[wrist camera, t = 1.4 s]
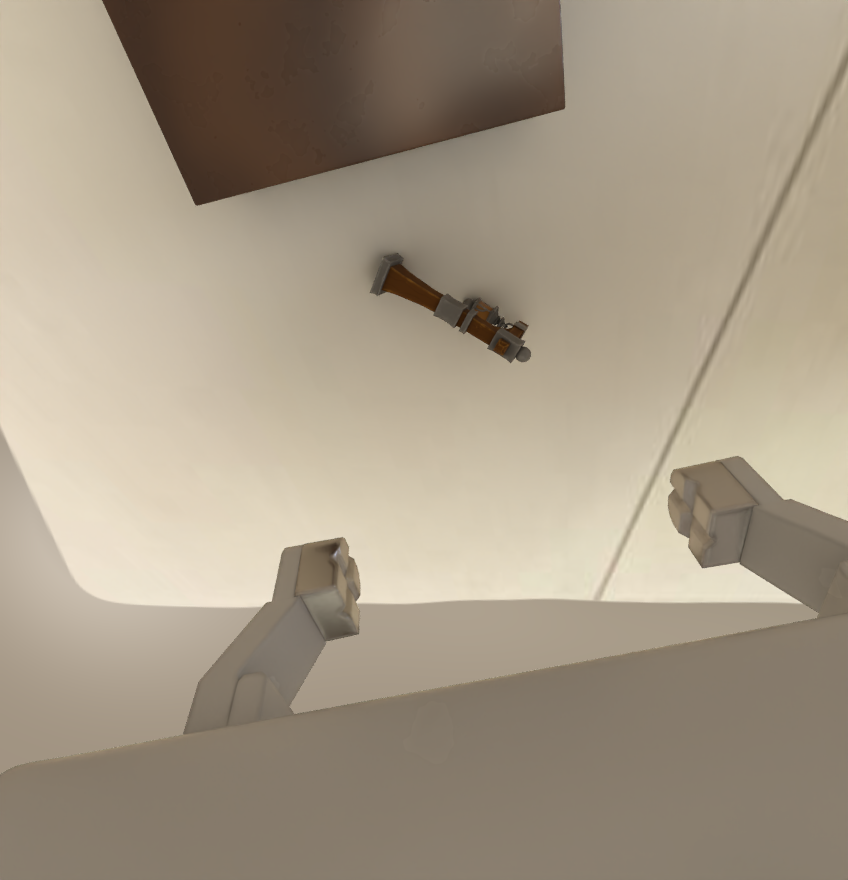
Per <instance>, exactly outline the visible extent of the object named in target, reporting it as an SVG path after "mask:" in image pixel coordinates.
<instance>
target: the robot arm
mask: <svg viewBox="0 0 848 880" xmlns="http://www.w3.org/2000/svg"><path fill="white" fill-rule="evenodd" d="M670 483H671V484H672V486H673V487H674V490H673V491H672V492H671V494H670V495H669V496H668V509H669V514H670V518H671V520H672V522H673V524H674V526H675V528H676V529H677V531H678V532H679V533H680V534H682V535H684V536H686V537H688V538H689V544H688V548H689V549H690V550H691V552H692V553H693V555H694V556H695V558H696V559H697V561H698V562H699V564H700V565H701V567H702V568H707V567H714V566H720V565H726V564H732V563H738V562H740V564H741V565H742V566H744V567H745V568H747V569H749V570H750V571H752V572H753V573H755V574H757V575H758V576H760V577H761V578H763V579H765V580H766V581H768V582H769V583H771V584H773V585H774V586H776V587H777V588H779V589H781V590H782V591H784V592H786V593H787V594H789V595H790V596H792V597H794V598H795V599H797V600H798V601H800V602H802V603H803V604H805V605H806V606H808V607H810V608H811V609H813V610H814V611H816V612H818V613H819V614H818V616H817V618H815V619H810V620H804V621H798V622H793V623H787V624H782V625H777V626H771V627H766V628H760V629H755V630H749V631H745V632H738V633H733V634H728V635H723V636H717V637H711V638H707V639H701V640H695V641H690V642H685V643H679V644H674V645H668V646H663V647H658V648H652V649H647V650H642V651H636V652H630V653H625V654H620V655H615V656H609V657H604V658H598V659H593V660H587V661H582V662H576V663H571V664H565V665H560V666H555V667H549V668H544V669H538V670H533V671H527V672H522V673H516V674H511V675H505V676H500V677H495V678H489V679H484V680H478V681H473V682H467V683H462V684H456V685H451V686H445V687H440V688H435V689H429V690H423V691H418V692H413V693H407V694H402V695H396V696H391V697H385V698H380V699H375V700H369V701H364V702H358V703H353V704H347V705H342V706H336V707H331V708H326V709H321V710H315V711H309V712H305V713H298V714H294V713H293V711H292V710H291V708H290V707H289V706H290V704H291V702H292V701H293V699H294V698H295V696H296V694H297V692H298V691H299V689H300V687H301V686H302V684H303V682H304V680H305V679H306V677H307V675H308V673H309V672H310V670H311V668H312V666H313V665H314V663H315V662H316V660H317V658H318V656H319V655H320V653H321V651H322V649H323V648H324V646H325V644H326V641H330V640H334V639H339V638H344V637H348V636H353V635H357V634H359V619H360V610H359V608H358V606H357V603H356V601H357V599H358V598H359V597H360V578H359V572H358V568H357V565H356V562H355V560H354V559H353V558H352V557H350V556H349V546H348V544H347V542H346V540H345V538H343V537H341V538H335V539H330V540H324V541H318V542H313V543H307V544H304V545H298V546H293V547H287V548H285V549H284V550H283V552H282V554H281V559H280V564H279V569H278V574H277V579H276V584H275V589H274V594H273V599H272V602H267V603H266V604H265V605H264V606H263V607H262V608H261V610H260V611H259V612H258V613H257V614H256V615H255V616H254V618H253V619H252V620H251V621H250V622H249V623H248V625H247V626H246V627H245V628H244V629H243V630H242V632H241V633H240V634H239V635H238V636H237V638H236V639H235V640H234V641H233V642H232V643H231V644H230V646H229V647H228V648H227V649H226V650H225V652H224V653H223V654H222V655H221V656H220V657H219V658H218V660H217V661H216V662H215V663H214V664H213V665H212V667H211V668H210V669H209V670H208V671H207V673H206V674H205V675H204V676H203V677H202V678H201V680H200V681H199V682H198V686H197V689H196V693H195V696H194V699H193V703H192V706H191V709H190V712H189V716H188V719H187V722H186V726H185V729H184V732H183V735H179V736H174V737H168V738H163V739H158V740H152V741H146V742H141V743H135V744H130V745H125V746H119V747H114V748H109V749H103V750H98V751H92V752H87V753H81V754H76V755H71V756H65V757H59V758H53V759H47V760H40V761H35V762H30V763H26V764H22V765H18V766H15V767H13V768H10V769H8V770H6V771H5V772H3V773H2V774H0V880H848V521H846V520H843V519H840V518H838V517H835V516H833V515H830V514H828V513H825V512H822V511H820V510H817V509H815V508H812V507H810V506H807V505H804V504H802V503H799V502H797V501H794V500H792V499H789V500H783V499H782V498H781V497H780V496H779V495H778V494H777V492H776V491H775V490H774V489H773V488H772V487H771V486H770V485H769V484H768V483H767V482H766V481H765V480H764V479H763V478H762V477H761V476H760V475H759V474H758V473H757V472H756V471H755V470H754V469H753V468H752V467H751V466H750V465H749V464H748V463H747V462H746V461H745V460H744V459H743V458H741V457H739V456H735V457H730V458H725V459H721V460H716V461H712V462H707V463H702V464H698V465H693V466H688V467H684V468H679V469H674V470H673V471H672V473H671V477H670Z"/></svg>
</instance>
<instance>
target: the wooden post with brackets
mask: <svg viewBox="0 0 848 880" xmlns="http://www.w3.org/2000/svg"><path fill="white" fill-rule="evenodd" d="M403 259H404V258H402V257H401V256H399V254H398V253H397V254H393V255H390V256H386V257H383V260H382V262H381V265H380V268H379V270H378V273H377V275H376V278H375V281H374V283H373V286H372V288H371V291H370V293H373V294H376V295H377V296H378V295H380V294H383V293H385V292H390V293H393V294H396V295H398V296H401V297H403V298H405V299H408V300H410V301H412V302H415V303H417V304H420V305H422V306H424V307H426V308H428V309H429V310H431V311H433V312H435V313H434V315H433V316H436V317H439V318H440V319H442V320H444V321H445V322H447V323H449V324H450V325H451V326H452V327H453V328H455V327H456V326H458V327H460V330H459V331H460V332H462V333H463V334H464V333H466V332H468V333H470V334H471V335H473V336H475V337H476V338H478V339H480V340H481V341H483V342H484V343H486V344H488V345H489V346H488V348H487V349H489V350H492V351H494V352H495V353H497V354H499V355H500V356H502V357H503V358H505V359H507V360H508V361H509V362H510V363H511V362H512V361H513V360H514V359H515V357H516V359H517V360H518V361H520V362H526V361H528V360H529V359H530V357H531V352H530V350H529V349H528V348H527V347H522V346H523V345H524V343H525V341H524V340H521V338H522V336H523V335H524V333H525V331H526V330H527V327H528V326H529V325H527V324H525V323H523V322H522V321H519V322H516V323H515V324H514V325H513V324H511V323H506V324H505V323H504V317H503V318H502V319H501V320H500V316H499V317H498V308H499V307H498V306H497V307H496V308H495V309H494V308H492V307H490V306H489V305H487V304H486V303H484V302H483V301H482V300H481V298H478V299H477V300H476V301H475V302H474V301H473V300H472V299H466V300H464V302H463V304H462V303H461V302H459V301H457V300H456V299H454V298H452V297H451V296H450V295H449V294H446V295H445V296H444V295H443V294H441V293H439V292H438V291H436V290H434V289H433V288H431V287H430V286H428V285H427V284H426V283H424V282H423V281H421V280H420V279H419V278H417V277H416V276H414V275H413V274H411V273H410V272H409V271H408V270H407V269H405V268H404V267H403V266H402V265H401V264H402V261H403ZM492 324H494V326H493V325H492ZM496 324H498V325H497V327H496V326H495V325H496ZM503 324H504V325H503ZM507 325H511V326H513V327H512V328H509V329H506V328H507V327H508V326H507ZM502 326H503V327H504V328H503V327H502ZM501 327H502V328H501Z"/></svg>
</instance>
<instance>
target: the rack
mask: <svg viewBox="0 0 848 880" xmlns="http://www.w3.org/2000/svg"><path fill="white" fill-rule="evenodd" d="M102 1H103V3H104V5H105V8H106V10H107V12H108V14H109V16H110V19H111V21H112V23H113V25H114V27H115V30H116V32H117V34H118V36H119V38H120V41H121V43H122V45H123V47H124V49H125V51H126V54H127V56H128V58H129V60H130V62H131V65H132V67H133V69H134V71H135V73H136V76H137V78H138V80H139V82H140V84H141V87H142V89H143V91H144V93H145V95H146V98H147V100H148V102H149V104H150V106H151V109H152V111H153V113H154V115H155V117H156V120H157V122H158V124H159V126H160V128H161V131H162V133H163V135H164V137H165V139H166V141H167V144H168V146H169V148H170V150H171V152H172V155H173V157H174V159H175V161H176V163H177V166H178V168H179V170H180V172H181V174H182V177H183V179H184V181H185V183H186V185H187V188H188V190H189V192H190V194H191V196H192V199H193V201H194V203H195V205H197V206H198V205H202V204H206V203H210V202H213V201H217V200H221V199H225V198H229V197H232V196H236V195H240V194H244V193H248V192H251V191H255V190H259V189H263V188H267V187H270V186H274V185H278V184H282V183H286V182H289V181H293V180H297V179H301V178H305V177H308V176H312V175H316V174H320V173H324V172H327V171H331V170H335V169H339V168H343V167H346V166H350V165H354V164H358V163H362V162H365V161H369V160H373V159H377V158H381V157H384V156H388V155H392V154H396V153H400V152H403V151H407V150H411V149H415V148H419V147H422V146H426V145H430V144H434V143H438V142H441V141H445V140H449V139H453V138H457V137H460V136H464V135H468V134H472V133H475V132H479V131H483V130H487V129H491V128H494V127H498V126H502V125H506V124H510V123H513V122H517V121H521V120H525V119H529V118H532V117H536V116H540V115H544V114H548V113H551V112H555V111H559V110H563V109H565V90H564V69H563V48H562V27H561V7H560V0H102Z"/></svg>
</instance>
